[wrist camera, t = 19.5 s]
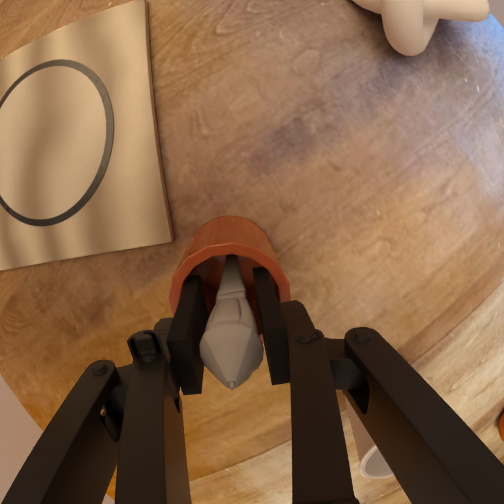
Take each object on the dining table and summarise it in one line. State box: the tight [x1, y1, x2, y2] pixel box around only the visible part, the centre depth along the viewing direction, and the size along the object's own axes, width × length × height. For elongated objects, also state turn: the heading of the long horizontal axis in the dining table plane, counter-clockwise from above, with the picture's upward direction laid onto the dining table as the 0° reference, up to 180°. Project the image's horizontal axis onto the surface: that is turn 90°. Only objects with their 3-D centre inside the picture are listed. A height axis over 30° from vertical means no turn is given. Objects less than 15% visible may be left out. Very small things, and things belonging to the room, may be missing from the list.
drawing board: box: [0, 0, 174, 271], centre depth 19 cm, size 20×20×1 cm
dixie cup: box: [344, 395, 394, 479], centre depth 24 cm, size 8×8×10 cm
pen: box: [200, 255, 264, 390], centre depth 16 cm, size 2×3×14 cm
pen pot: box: [169, 216, 291, 344], centre depth 20 cm, size 6×6×8 cm
